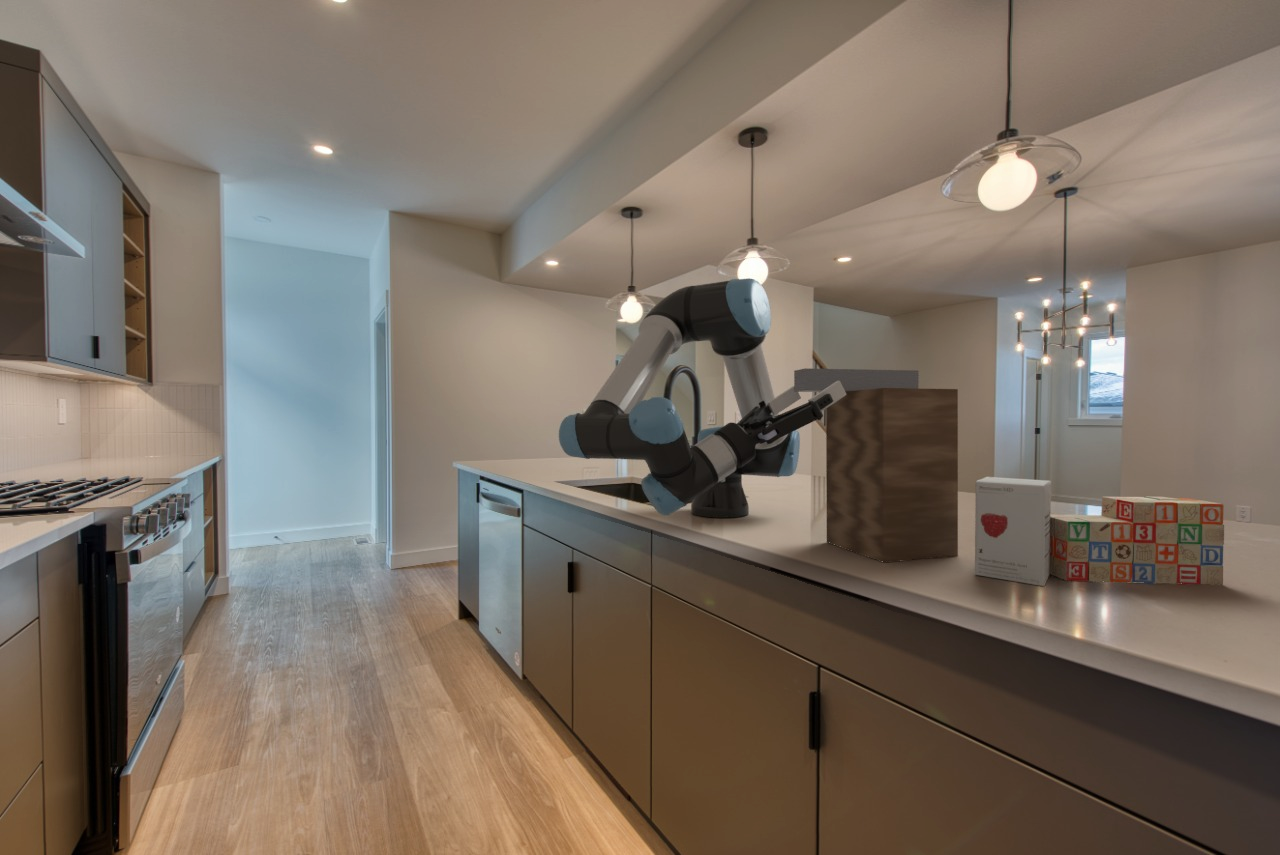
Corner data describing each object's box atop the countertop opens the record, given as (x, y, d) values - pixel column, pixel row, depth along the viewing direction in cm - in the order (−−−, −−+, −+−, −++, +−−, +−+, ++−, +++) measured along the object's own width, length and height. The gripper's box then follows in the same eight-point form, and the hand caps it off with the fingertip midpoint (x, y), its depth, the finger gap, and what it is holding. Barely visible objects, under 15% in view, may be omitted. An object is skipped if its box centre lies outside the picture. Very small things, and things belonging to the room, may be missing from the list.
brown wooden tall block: (826, 542, 107) (826, 373, 106) (892, 537, 111) (892, 374, 111) (883, 562, 91) (883, 364, 91) (957, 555, 96) (957, 366, 95)
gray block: (794, 391, 100) (794, 370, 100) (903, 392, 106) (903, 372, 106) (805, 390, 96) (805, 368, 96) (918, 391, 102) (918, 370, 102)
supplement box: (972, 575, 83) (972, 480, 83) (984, 564, 90) (984, 475, 90) (1045, 587, 77) (1045, 484, 77) (1051, 574, 84) (1052, 479, 84)
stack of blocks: (1066, 582, 80) (1066, 501, 80) (1039, 571, 86) (1039, 495, 86) (1224, 586, 78) (1225, 502, 77) (1185, 574, 84) (1185, 496, 84)
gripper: (706, 464, 104) (789, 409, 108) (771, 477, 80) (874, 405, 84) (688, 431, 103) (773, 377, 107) (748, 434, 79) (854, 364, 83)
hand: (818, 389), depth 96 cm, fingers open, 13 cm apart
